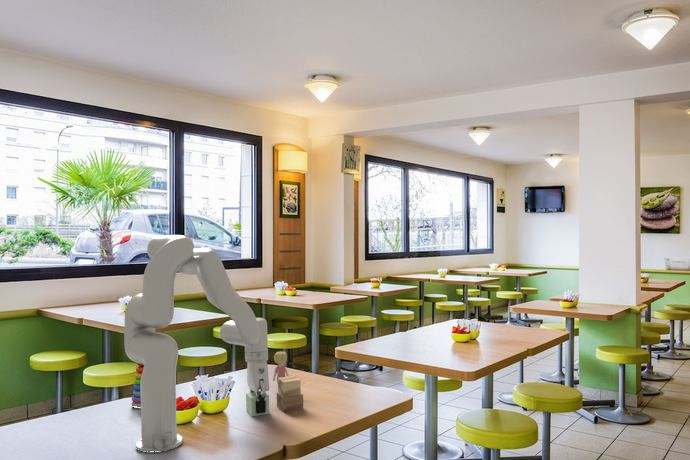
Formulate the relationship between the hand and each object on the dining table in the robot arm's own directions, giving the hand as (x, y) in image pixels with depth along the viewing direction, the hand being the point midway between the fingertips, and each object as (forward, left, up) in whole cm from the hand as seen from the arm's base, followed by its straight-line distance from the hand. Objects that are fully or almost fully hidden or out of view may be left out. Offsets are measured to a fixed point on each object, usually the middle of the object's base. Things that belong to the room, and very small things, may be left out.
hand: (257, 409), depth 184 cm
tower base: (-1, -11, -1) cm, 11 cm away
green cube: (0, 0, -1) cm, 1 cm away
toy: (+19, -15, -1) cm, 24 cm away
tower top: (-1, -11, +4) cm, 12 cm away
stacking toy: (+27, +33, -1) cm, 43 cm away
